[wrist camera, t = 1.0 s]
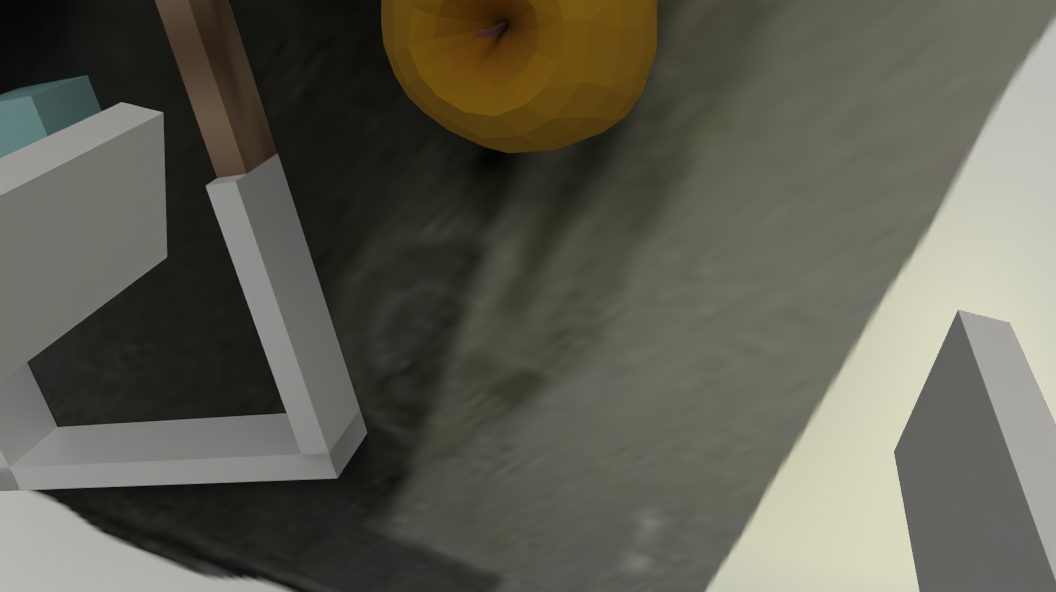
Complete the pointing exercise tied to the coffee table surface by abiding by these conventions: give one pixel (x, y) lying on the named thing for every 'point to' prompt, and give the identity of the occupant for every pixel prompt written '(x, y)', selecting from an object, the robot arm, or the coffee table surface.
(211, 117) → the slot rails
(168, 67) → the coffee table surface
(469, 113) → the apple
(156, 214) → the robot arm
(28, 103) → the block
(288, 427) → the grey u-shaped frame
